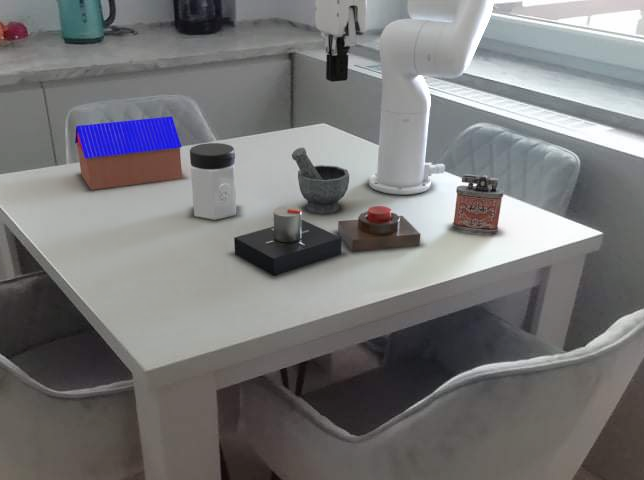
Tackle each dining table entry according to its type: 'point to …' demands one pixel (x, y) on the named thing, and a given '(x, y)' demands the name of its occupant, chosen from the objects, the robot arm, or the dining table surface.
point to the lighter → (478, 205)
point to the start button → (379, 214)
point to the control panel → (287, 249)
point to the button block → (378, 233)
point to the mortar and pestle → (320, 183)
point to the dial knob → (287, 224)
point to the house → (129, 152)
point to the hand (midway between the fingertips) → (336, 79)
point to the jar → (213, 180)
